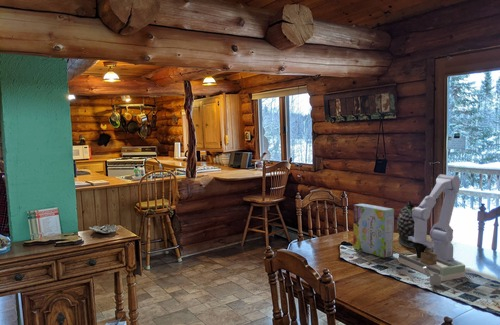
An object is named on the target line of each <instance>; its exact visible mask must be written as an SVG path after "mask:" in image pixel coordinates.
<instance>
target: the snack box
mask: <svg viewBox="0 0 500 325" xmlns="http://www.w3.org/2000/svg"><path fill="white" fill-rule="evenodd" d="M394 220H395V208H390V207H385V206H379V205H374V204H367V203H358V204H357V203H356V204H353V234H352V236H353V237H352V239H353V242H352V243H353V245H352V246H353V247H352V249H353V248H354V250H356V249H357V250H356V251H360V252H363V253H366V254H370V255H374V256H377V257H381V258H384V259H385V258H388V257H391V256H394V232H395V231H394V226H395V225H394V224H395V223H394Z"/></svg>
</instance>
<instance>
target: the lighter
mask: <svg viewBox="0 0 500 325" xmlns="http://www.w3.org/2000/svg"><path fill="white" fill-rule="evenodd" d="M423 268H424V270H425V272H426V274H425V275H426V276H427V277H429V285H430V286H434V285H436V287H441V282H442V281H441V276H440V275H439V274H438V273H433V274H430V273H429V271H428V269H427V267H426V266H425V267H423Z"/></svg>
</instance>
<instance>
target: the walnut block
mask: <svg viewBox="0 0 500 325" xmlns="http://www.w3.org/2000/svg"><path fill="white" fill-rule="evenodd" d="M421 262H422V263H424V264H426V265H434V264H437V254H435V253H433V252H432V251H429V250H428V251H426V250H425V252H421Z"/></svg>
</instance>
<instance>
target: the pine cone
mask: <svg viewBox="0 0 500 325" xmlns="http://www.w3.org/2000/svg"><path fill="white" fill-rule="evenodd" d="M416 207H417V206H415V205H414V204H413V203H412V202H411V201H410V200H408V201H407V204H405V206H403V208H401V209H400V211H399V212H400V213H398V217H396V218H397V221H396V231H397V234H398V237H397V238H398V242H399V243H400V245H402V246H405V247H407V248H411V249H415V248H414V246H413V244H414V243H415V242H413V241H411V240H410V241H409V240H408V236H413V237H414V224H415V222H414V220H413V216H412V212H413V209H414V208H416Z"/></svg>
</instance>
